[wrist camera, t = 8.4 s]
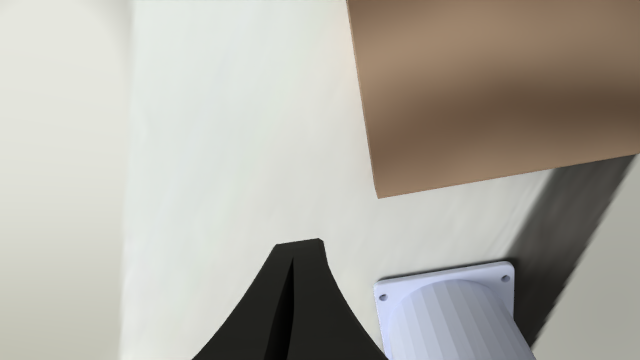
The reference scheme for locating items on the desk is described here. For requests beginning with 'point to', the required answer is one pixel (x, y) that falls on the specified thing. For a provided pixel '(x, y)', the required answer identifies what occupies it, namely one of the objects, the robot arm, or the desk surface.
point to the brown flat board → (494, 87)
